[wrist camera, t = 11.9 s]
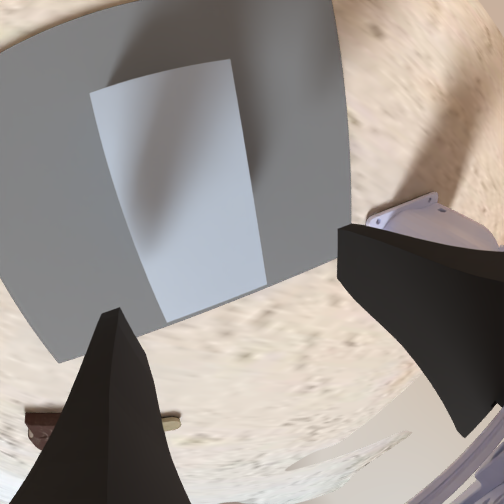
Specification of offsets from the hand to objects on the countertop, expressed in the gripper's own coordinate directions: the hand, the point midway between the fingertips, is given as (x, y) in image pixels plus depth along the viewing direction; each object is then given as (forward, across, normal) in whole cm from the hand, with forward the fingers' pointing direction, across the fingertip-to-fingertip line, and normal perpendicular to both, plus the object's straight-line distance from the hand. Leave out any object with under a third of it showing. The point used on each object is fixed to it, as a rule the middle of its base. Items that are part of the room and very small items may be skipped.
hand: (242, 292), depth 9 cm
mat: (+8, 0, -2) cm, 9 cm away
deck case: (+8, 0, -2) cm, 8 cm away
